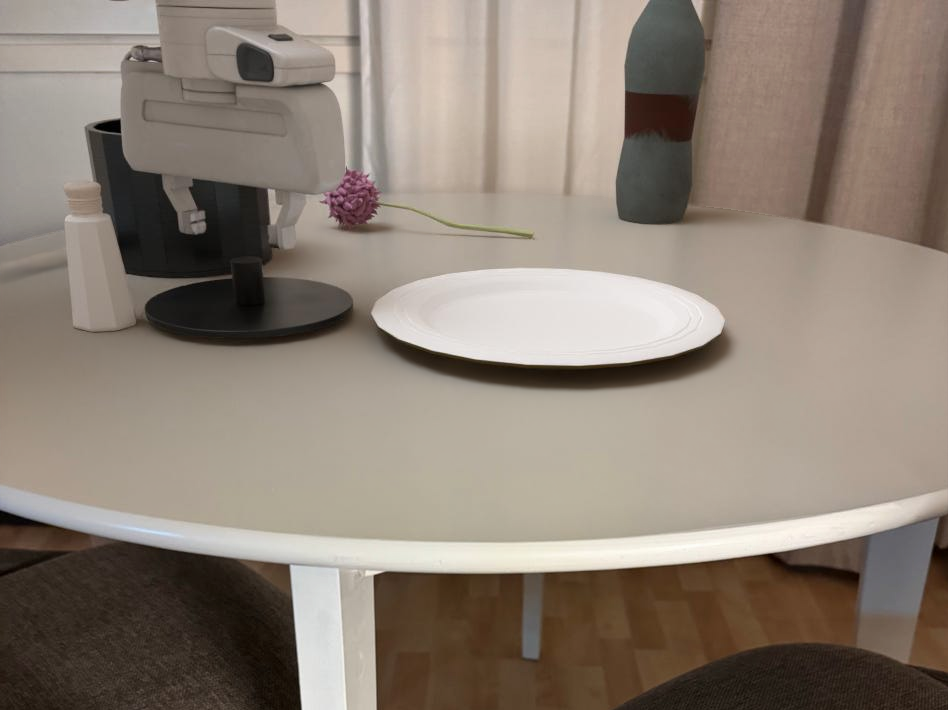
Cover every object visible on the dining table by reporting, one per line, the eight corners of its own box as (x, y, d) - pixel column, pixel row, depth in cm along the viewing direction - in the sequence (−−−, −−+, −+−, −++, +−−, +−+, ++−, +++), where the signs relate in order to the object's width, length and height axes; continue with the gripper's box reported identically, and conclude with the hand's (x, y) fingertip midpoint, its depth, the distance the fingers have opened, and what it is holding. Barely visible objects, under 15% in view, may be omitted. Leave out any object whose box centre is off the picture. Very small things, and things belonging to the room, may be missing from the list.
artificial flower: (533, 254, 125) (328, 211, 127) (543, 194, 121) (330, 151, 122) (524, 277, 120) (311, 232, 122) (534, 216, 116) (312, 170, 117)
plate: (620, 277, 105) (621, 257, 104) (795, 365, 82) (799, 340, 81) (332, 302, 96) (331, 280, 95) (439, 407, 73) (439, 381, 72)
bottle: (654, 228, 126) (683, -78, 110) (597, 216, 131) (617, -76, 115) (703, 218, 131) (738, -75, 115) (646, 207, 137) (671, -73, 121)
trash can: (72, 264, 107) (47, 127, 100) (185, 234, 119) (169, 111, 113) (199, 285, 100) (181, 141, 94) (305, 252, 113) (295, 122, 106)
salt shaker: (122, 334, 87) (97, 190, 81) (60, 330, 88) (31, 187, 82) (149, 316, 91) (128, 178, 86) (90, 312, 92) (65, 176, 86)
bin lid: (101, 325, 89) (91, 267, 86) (237, 281, 102) (231, 229, 100) (269, 359, 82) (263, 296, 79) (392, 306, 95) (390, 252, 93)
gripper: (89, 44, 83) (116, 230, 90) (302, 60, 75) (313, 263, 82) (147, 42, 88) (168, 219, 95) (353, 57, 80) (359, 249, 87)
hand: (237, 240), depth 88 cm, fingers open, 8 cm apart
